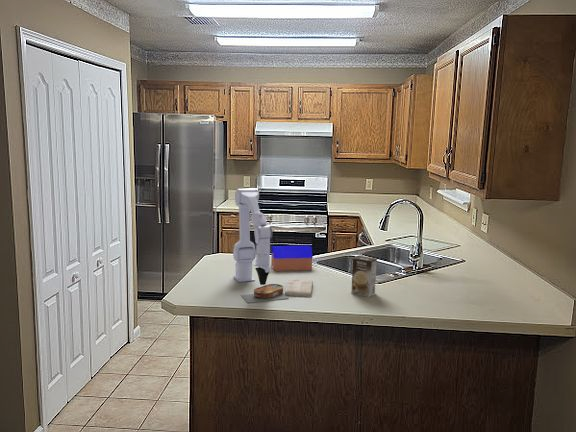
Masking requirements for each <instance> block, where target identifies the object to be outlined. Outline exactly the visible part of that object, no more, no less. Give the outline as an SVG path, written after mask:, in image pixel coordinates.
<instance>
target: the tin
mask: <svg viewBox="0 0 576 432" xmlns="http://www.w3.org/2000/svg"><path fill="white" fill-rule="evenodd" d="M282 293H283V294H284V285H281V284H278V283H269V284H265V285H261V286H259V287H256V288H254V289H253V294H254V296H255V297H257V298H261V299H268V298H272V297H274V296H277V295H280V294H282Z"/></svg>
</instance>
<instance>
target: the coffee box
mask: <svg viewBox="0 0 576 432" xmlns="http://www.w3.org/2000/svg"><path fill="white" fill-rule="evenodd" d="M377 262H378V258H374V257H371V256H370V257H369V256H366V255H361V254H360V255H357V256H355V257H353V258H352V272H351V273H352V274H351V275H352V276H351V291H350V292H351V294H354V295H357V296H358V295H359V296H363V297H367V298H368V297H369V298H370V297H372V296H373V295H374V294H376V285H377V284H376V282H377V281H376V280H377V279H376V278H377V265H378V263H377Z"/></svg>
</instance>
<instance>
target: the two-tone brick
mask: <svg viewBox="0 0 576 432" xmlns="http://www.w3.org/2000/svg"><path fill="white" fill-rule="evenodd" d="M270 256H271V257H270V259H271V262H270V266H271V268H272V269H273V271H274V272H281V271H285V270H287V271H310V270H311V271H312V270H313V269H312V268H313V257H314V255H313V252H312V245H307V244H306V245H277V246H276V245H274V246H272V247H271V249H270ZM285 272H286V271H285Z"/></svg>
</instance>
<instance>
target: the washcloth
mask: <svg viewBox="0 0 576 432" xmlns="http://www.w3.org/2000/svg"><path fill="white" fill-rule="evenodd" d="M313 285H314V281H312V280H301V279H300V280H299V279H288V280H287V282H286V284H285V288H284V295H286V296H287V297H289V296H290V297H291V296H292V297H294V296H296V297H308V298H309V297H312V296H313V295H312V290H313Z"/></svg>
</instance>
